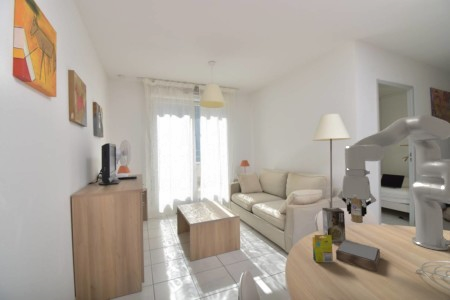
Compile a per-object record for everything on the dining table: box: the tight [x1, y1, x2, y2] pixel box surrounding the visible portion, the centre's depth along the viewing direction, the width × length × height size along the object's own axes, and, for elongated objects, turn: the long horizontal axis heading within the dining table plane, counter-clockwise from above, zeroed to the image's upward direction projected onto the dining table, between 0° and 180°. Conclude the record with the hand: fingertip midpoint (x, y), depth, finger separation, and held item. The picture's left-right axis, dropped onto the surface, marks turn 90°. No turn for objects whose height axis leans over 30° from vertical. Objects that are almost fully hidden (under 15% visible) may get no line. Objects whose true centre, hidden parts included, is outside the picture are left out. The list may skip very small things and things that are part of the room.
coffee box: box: [321, 207, 347, 243], centre depth 106 cm, size 9×6×16 cm
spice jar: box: [350, 194, 364, 224], centre depth 87 cm, size 5×5×14 cm
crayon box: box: [312, 234, 334, 264], centre depth 85 cm, size 7×3×12 cm, turn 86°
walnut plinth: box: [335, 239, 381, 272], centre depth 86 cm, size 14×14×4 cm
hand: (356, 214), depth 87 cm, fingers closed on spice jar, 4 cm apart
